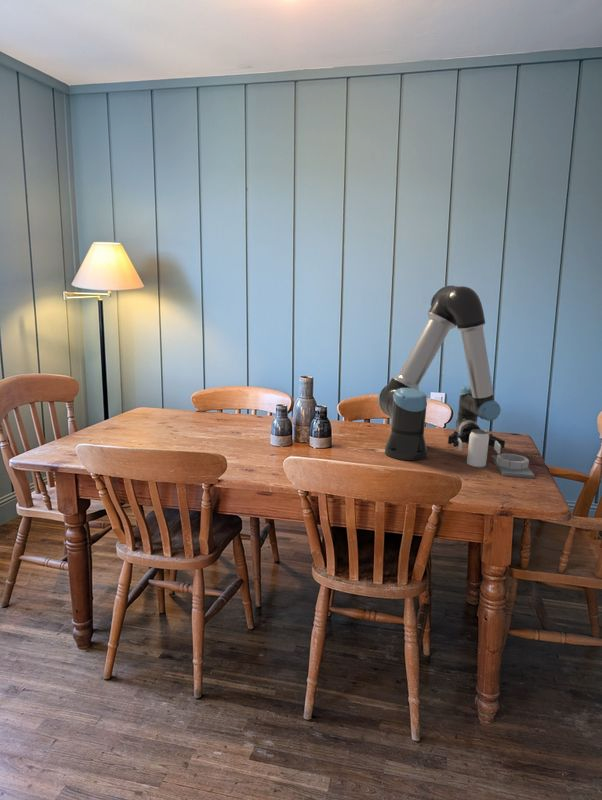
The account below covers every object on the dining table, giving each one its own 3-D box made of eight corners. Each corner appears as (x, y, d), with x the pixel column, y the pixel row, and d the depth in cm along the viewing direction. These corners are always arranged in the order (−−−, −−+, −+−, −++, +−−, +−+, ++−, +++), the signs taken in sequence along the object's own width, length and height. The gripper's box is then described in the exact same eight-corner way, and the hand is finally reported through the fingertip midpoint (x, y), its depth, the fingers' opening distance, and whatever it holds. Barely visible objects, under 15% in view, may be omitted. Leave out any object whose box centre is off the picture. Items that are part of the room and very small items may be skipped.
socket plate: (502, 475, 194) (503, 465, 193) (491, 457, 214) (492, 448, 213) (534, 478, 193) (535, 468, 192) (520, 460, 212) (521, 450, 212)
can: (472, 468, 201) (476, 434, 198) (463, 462, 207) (466, 429, 204) (489, 467, 202) (493, 433, 200) (479, 461, 209) (482, 428, 206)
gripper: (502, 444, 220) (515, 461, 199) (436, 439, 223) (442, 456, 202) (504, 425, 219) (518, 440, 198) (438, 420, 221) (444, 434, 200)
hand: (480, 448), depth 200 cm, fingers open, 12 cm apart
